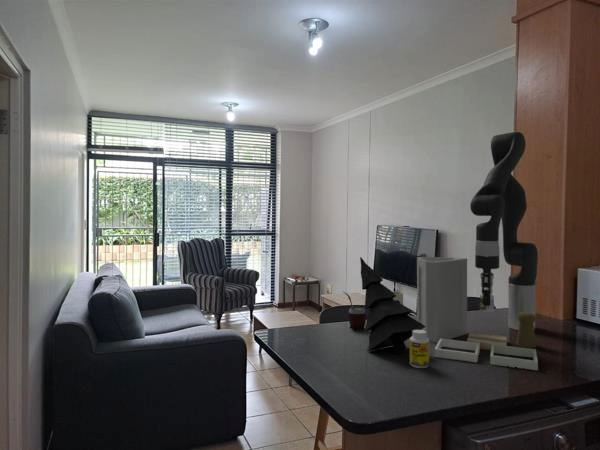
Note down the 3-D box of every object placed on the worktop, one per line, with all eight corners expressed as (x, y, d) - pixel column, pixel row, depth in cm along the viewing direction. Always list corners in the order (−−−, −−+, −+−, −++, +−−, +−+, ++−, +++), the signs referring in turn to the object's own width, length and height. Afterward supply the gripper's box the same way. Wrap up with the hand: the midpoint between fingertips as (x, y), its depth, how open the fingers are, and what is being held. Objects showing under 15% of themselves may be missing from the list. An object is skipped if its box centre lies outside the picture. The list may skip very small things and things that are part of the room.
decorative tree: (404, 355, 147) (365, 266, 163) (432, 339, 136) (387, 245, 153) (371, 363, 139) (333, 269, 156) (398, 347, 129) (354, 247, 145)
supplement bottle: (409, 367, 126) (409, 333, 126) (410, 361, 131) (410, 328, 131) (429, 369, 124) (429, 334, 124) (429, 363, 130) (429, 329, 129)
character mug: (393, 329, 168) (393, 295, 168) (378, 325, 173) (378, 293, 173) (409, 324, 175) (409, 292, 175) (395, 320, 181) (394, 290, 180)
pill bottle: (477, 310, 149) (477, 287, 149) (489, 309, 150) (489, 287, 149) (483, 312, 145) (483, 289, 145) (496, 312, 145) (496, 289, 145)
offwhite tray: (440, 345, 147) (440, 338, 147) (479, 350, 141) (479, 342, 141) (434, 356, 135) (434, 348, 135) (477, 362, 130) (477, 354, 130)
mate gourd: (369, 327, 170) (368, 290, 170) (360, 332, 164) (360, 293, 163) (351, 325, 174) (351, 288, 174) (343, 330, 168) (342, 291, 167)
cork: (539, 348, 143) (539, 315, 143) (519, 347, 144) (519, 314, 144) (533, 342, 149) (533, 311, 149) (514, 341, 150) (514, 310, 150)
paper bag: (434, 325, 173) (434, 255, 172) (468, 333, 161) (468, 258, 161) (403, 333, 162) (402, 259, 161) (437, 342, 150) (436, 262, 149)
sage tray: (491, 351, 140) (491, 344, 140) (535, 357, 134) (535, 349, 134) (490, 364, 128) (490, 355, 128) (537, 370, 123) (537, 361, 123)
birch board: (469, 337, 155) (469, 332, 155) (506, 341, 150) (506, 336, 150) (466, 347, 145) (466, 341, 145) (506, 352, 139) (506, 345, 139)
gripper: (476, 251, 155) (476, 299, 155) (473, 255, 142) (473, 307, 142) (499, 252, 151) (499, 301, 152) (498, 256, 139) (498, 309, 139)
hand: (486, 303), depth 147 cm, fingers closed on pill bottle, 4 cm apart
